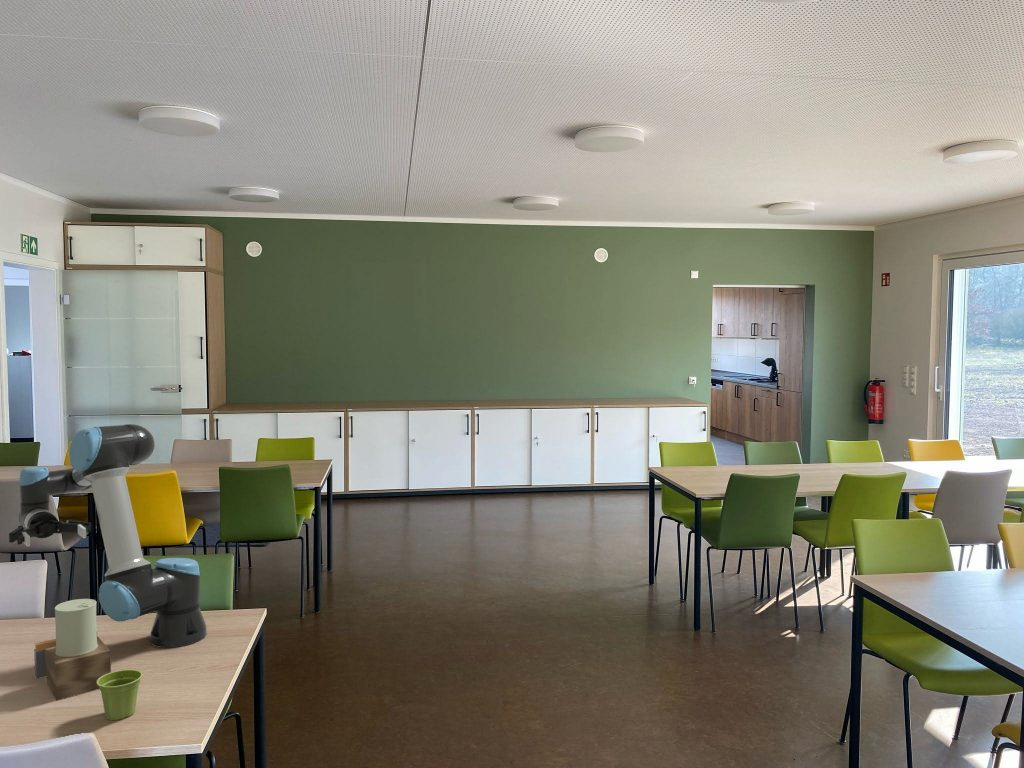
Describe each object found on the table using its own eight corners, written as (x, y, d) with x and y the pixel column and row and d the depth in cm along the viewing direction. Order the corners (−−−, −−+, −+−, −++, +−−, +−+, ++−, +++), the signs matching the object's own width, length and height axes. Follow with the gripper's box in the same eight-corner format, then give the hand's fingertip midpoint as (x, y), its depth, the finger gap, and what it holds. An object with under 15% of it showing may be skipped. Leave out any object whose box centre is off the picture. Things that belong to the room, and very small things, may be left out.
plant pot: (108, 705, 179) (107, 669, 178) (149, 703, 179) (148, 668, 179) (89, 725, 169) (88, 687, 169) (133, 723, 170) (132, 686, 170)
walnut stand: (98, 670, 198) (97, 636, 197) (111, 685, 189) (110, 650, 188) (46, 683, 190) (45, 648, 189) (56, 700, 181) (55, 664, 180)
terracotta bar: (95, 635, 203) (95, 629, 203) (97, 637, 202) (97, 631, 202) (35, 649, 194) (35, 643, 194) (36, 651, 192) (36, 645, 192)
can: (79, 658, 183) (78, 610, 183) (46, 655, 185) (45, 608, 184) (106, 643, 193) (105, 597, 192) (74, 641, 194) (72, 595, 193)
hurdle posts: (96, 660, 204) (96, 635, 203) (99, 663, 202) (98, 637, 202) (34, 675, 194) (34, 649, 194) (36, 678, 192) (36, 652, 192)
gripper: (88, 529, 233) (106, 542, 217) (-9, 543, 216) (4, 559, 201) (87, 505, 233) (106, 517, 217) (-10, 517, 216) (3, 531, 200)
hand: (57, 537), depth 209 cm, fingers open, 13 cm apart
